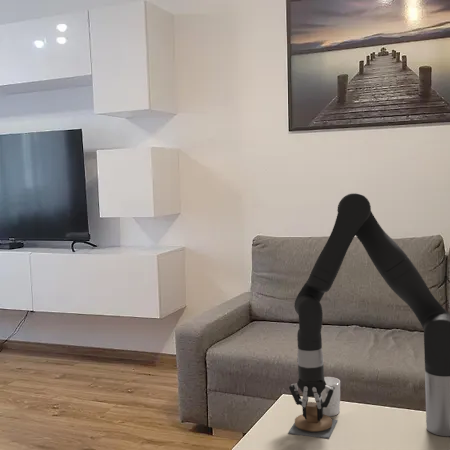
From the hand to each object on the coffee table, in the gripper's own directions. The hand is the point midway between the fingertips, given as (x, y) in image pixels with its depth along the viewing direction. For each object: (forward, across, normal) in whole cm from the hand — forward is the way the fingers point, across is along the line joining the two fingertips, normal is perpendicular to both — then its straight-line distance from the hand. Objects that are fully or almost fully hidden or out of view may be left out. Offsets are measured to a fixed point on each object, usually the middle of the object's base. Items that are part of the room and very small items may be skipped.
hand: (313, 418), depth 173 cm
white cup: (+3, -2, -12) cm, 12 cm away
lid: (+1, 0, 0) cm, 1 cm away
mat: (+3, 0, 0) cm, 3 cm away
